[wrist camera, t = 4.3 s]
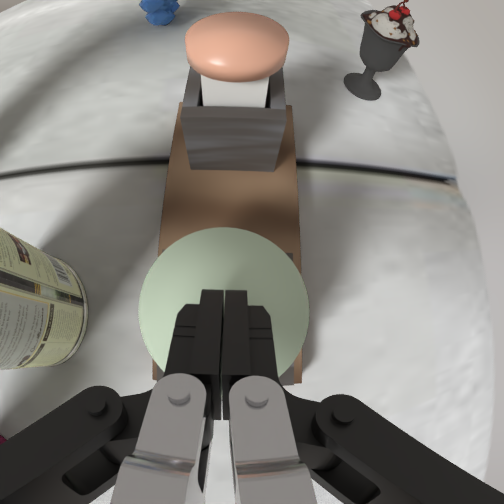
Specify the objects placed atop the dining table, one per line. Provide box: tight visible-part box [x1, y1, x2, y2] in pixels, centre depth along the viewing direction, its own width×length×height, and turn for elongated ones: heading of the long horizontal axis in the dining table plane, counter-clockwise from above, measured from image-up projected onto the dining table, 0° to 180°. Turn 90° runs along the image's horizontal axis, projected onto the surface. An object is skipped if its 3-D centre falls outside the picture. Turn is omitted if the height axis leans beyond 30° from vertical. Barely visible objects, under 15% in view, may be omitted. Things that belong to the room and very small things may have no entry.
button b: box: [185, 12, 289, 108], centre depth 19 cm, size 6×6×8 cm
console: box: [153, 66, 302, 386], centre depth 22 cm, size 25×11×9 cm, turn 179°
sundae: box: [344, 0, 419, 100], centre depth 25 cm, size 7×7×15 cm
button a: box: [139, 227, 310, 377], centre depth 15 cm, size 6×6×8 cm
